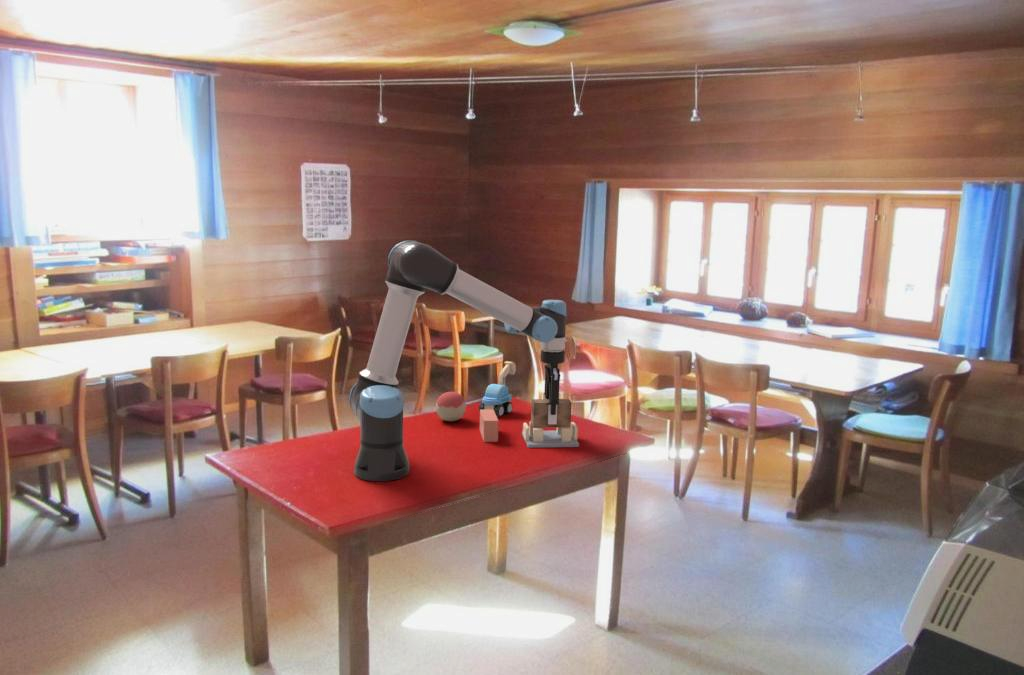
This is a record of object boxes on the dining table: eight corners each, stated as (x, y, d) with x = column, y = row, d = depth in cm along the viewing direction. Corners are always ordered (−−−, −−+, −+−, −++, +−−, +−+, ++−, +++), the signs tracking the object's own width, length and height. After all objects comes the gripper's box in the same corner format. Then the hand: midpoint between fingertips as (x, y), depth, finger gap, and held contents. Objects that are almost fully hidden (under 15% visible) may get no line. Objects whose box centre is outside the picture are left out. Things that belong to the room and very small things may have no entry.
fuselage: (533, 427, 251) (533, 403, 249) (531, 423, 255) (531, 399, 254) (570, 427, 252) (571, 402, 251) (567, 422, 257) (568, 398, 255)
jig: (527, 447, 247) (527, 432, 246) (521, 433, 260) (521, 419, 260) (579, 446, 249) (580, 431, 248) (570, 433, 263) (571, 418, 262)
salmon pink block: (483, 442, 251) (484, 420, 250) (479, 430, 264) (479, 409, 263) (497, 441, 252) (498, 420, 251) (493, 429, 265) (493, 409, 263)
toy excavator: (522, 408, 291) (523, 362, 288) (497, 418, 277) (498, 370, 274) (502, 404, 295) (504, 359, 292) (477, 414, 282) (477, 367, 278)
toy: (469, 416, 279) (470, 388, 277) (461, 425, 267) (461, 397, 266) (442, 414, 281) (442, 386, 279) (432, 423, 269) (432, 394, 267)
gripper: (570, 355, 241) (567, 429, 246) (559, 344, 258) (557, 413, 263) (545, 355, 240) (543, 430, 245) (536, 344, 257) (534, 414, 262)
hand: (550, 421), depth 254 cm, fingers closed on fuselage, 4 cm apart
